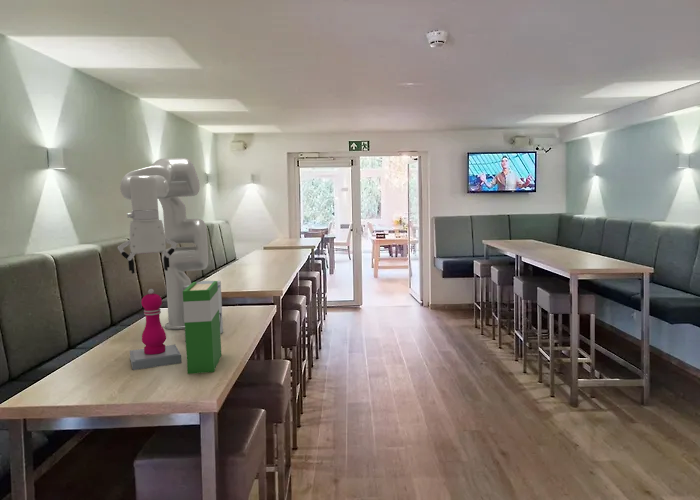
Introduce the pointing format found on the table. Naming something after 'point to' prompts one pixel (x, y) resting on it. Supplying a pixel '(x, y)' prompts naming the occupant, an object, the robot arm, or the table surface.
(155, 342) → the pepper mill
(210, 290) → the hardback book
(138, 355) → the slate stand
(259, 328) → the table surface
